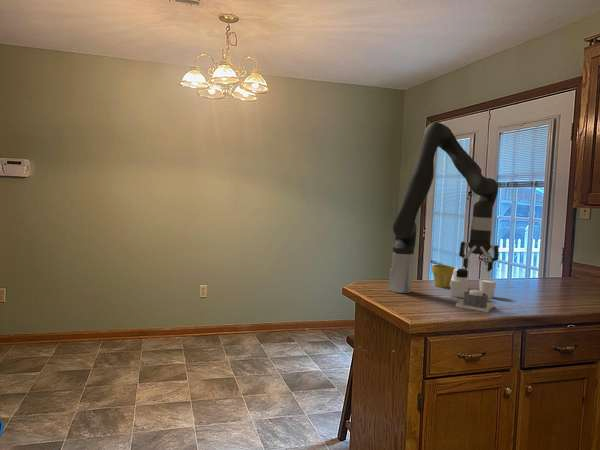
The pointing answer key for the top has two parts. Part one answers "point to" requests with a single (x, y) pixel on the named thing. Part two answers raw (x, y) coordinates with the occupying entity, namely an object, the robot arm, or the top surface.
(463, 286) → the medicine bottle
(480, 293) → the cap
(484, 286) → the white cylinder
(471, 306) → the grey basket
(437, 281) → the plant pot
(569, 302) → the top surface
